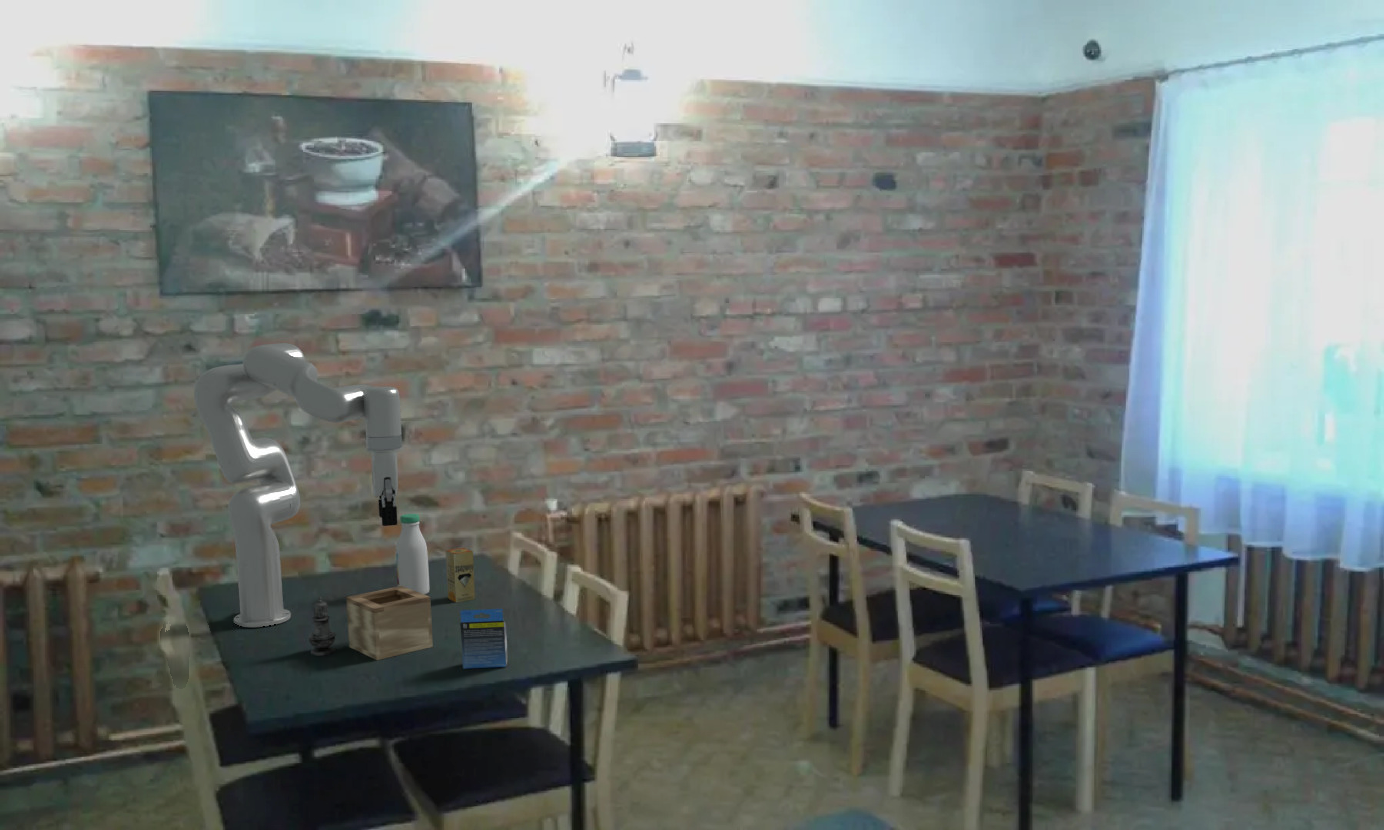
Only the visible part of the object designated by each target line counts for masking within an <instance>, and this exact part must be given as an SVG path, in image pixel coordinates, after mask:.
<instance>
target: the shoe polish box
mask: <svg viewBox="0 0 1384 830" xmlns="http://www.w3.org/2000/svg"><path fill="white" fill-rule="evenodd" d="M445 564H446V583H447V599H449V600H450V601H452V602H454V603H456V604H457V603H461V602H468V601H472V600H475V599H476V592H475V591H476V590H475V572H474V571H475V570H474V551H473V550H472V549H468V548H466V547H461V548H454V549H448V550H445Z"/></svg>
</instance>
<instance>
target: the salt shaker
mask: <svg viewBox="0 0 1384 830" xmlns="http://www.w3.org/2000/svg"><path fill="white" fill-rule="evenodd" d="M312 607H313V609H312V611H313V617H312V618H311V620H313V632H312V633H310V634H309V635H308V636H307V639H309V641H308V642H309V643H310V645H311V646H312V647H313V649H312V650H310V652H309V654H310V653H311V655H312V654H315V655H314V656H327V655H331V654H333V653H335V652H336V651H337V650H336V648H334V647H333V646H332V645H333V644H334V643H335V640H336V636H337V633H336V632H335V631H331V629H330V621H329V619H330V616H329V611H328V603H327V602H326V601H325V600H322V597H321V596H319V597H318V600H317V601H315V602H314V603H313V605H312ZM326 654H327V655H326Z"/></svg>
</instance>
